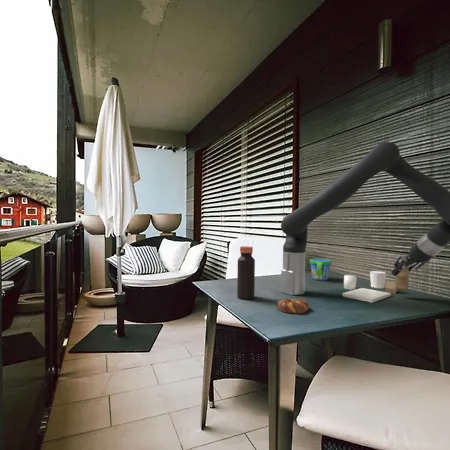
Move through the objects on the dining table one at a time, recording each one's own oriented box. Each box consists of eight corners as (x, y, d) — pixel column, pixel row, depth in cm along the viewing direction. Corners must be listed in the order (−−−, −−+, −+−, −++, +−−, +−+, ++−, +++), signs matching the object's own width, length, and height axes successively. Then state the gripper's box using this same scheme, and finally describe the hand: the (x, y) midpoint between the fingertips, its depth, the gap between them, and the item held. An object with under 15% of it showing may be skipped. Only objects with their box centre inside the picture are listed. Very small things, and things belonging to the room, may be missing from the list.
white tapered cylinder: (388, 289, 137) (388, 273, 137) (371, 288, 139) (372, 272, 138) (383, 285, 144) (383, 271, 144) (367, 285, 145) (368, 270, 145)
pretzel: (291, 303, 114) (291, 293, 114) (316, 310, 105) (317, 300, 105) (269, 309, 106) (270, 298, 106) (295, 317, 98) (295, 305, 98)
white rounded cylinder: (354, 290, 135) (355, 277, 134) (342, 288, 137) (342, 276, 137) (357, 287, 139) (357, 275, 139) (345, 286, 142) (345, 274, 141)
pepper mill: (405, 290, 119) (406, 257, 119) (393, 288, 122) (394, 256, 122) (409, 289, 122) (411, 256, 121) (398, 286, 125) (399, 255, 125)
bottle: (255, 296, 122) (256, 246, 122) (252, 300, 116) (253, 248, 115) (239, 294, 124) (239, 245, 124) (235, 299, 118) (235, 247, 117)
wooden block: (395, 293, 129) (396, 284, 129) (385, 292, 132) (385, 283, 131) (397, 291, 132) (397, 282, 132) (386, 290, 135) (387, 281, 135)
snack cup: (328, 283, 148) (328, 262, 147) (306, 281, 153) (306, 260, 152) (333, 278, 162) (333, 258, 161) (312, 276, 166) (313, 257, 166)
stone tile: (372, 302, 115) (372, 299, 115) (342, 296, 124) (342, 293, 124) (390, 296, 125) (390, 293, 125) (361, 290, 134) (361, 287, 134)
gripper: (434, 239, 117) (405, 265, 129) (406, 239, 112) (379, 267, 124) (448, 255, 112) (416, 280, 124) (419, 255, 107) (389, 282, 119)
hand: (398, 273), depth 124 cm, fingers closed on pepper mill, 4 cm apart
